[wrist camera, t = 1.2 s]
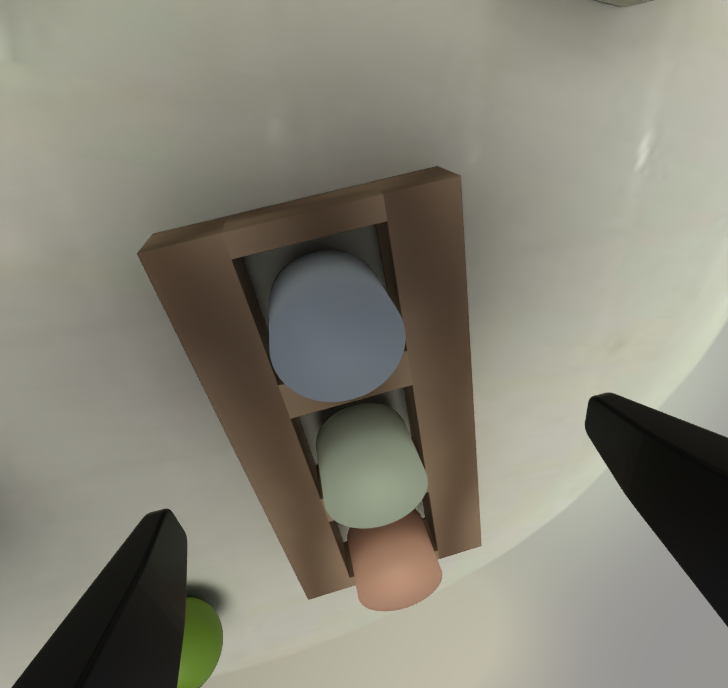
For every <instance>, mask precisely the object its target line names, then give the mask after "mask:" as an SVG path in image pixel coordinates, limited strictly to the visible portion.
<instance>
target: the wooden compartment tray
mask: <svg viewBox="0 0 728 688" xmlns="http://www.w3.org/2000/svg"><path fill="white" fill-rule="evenodd" d="M374 224H376V227H377V233H378V239H379V245H380V251H381V257H382V262H383V268H384V274H385V280H386V286H387V292H388V296H389V297H390V299H391V300H392V302H393V304H394V305H395V307H396V309H397V310H398V312H399V314H400V315H401V318H402V320H403V323H404V327H405V336H406V339H405V348H404V352H403V355H402V358H401V360H400V362H399V364H398V366H397V368H396V369H395V371H394V372H393V373H392V375H391V376H390V377H389V378H388V379H387V380H386V381H385V382H384V383H383V384H382V385H380V386H379V387H377V388H376V389H375V390H373V391H371V392H369V393H368V394H365V395H363V396H361V397H358V398H355V399H352V400H347V401H341V402H322V401H317V400H312V399H309V398H306V397H304V396H301V395H299V394H297V393H296V392H294V391H293V390H291V389H290V388H289V387H288V386H286V385H285V384H284V383H283V381H282V380H281V379H280V378H279V376H278V375H277V373H276V372H275V369H274V367H273V365H272V361H271V358H270V350H269V333H268V330H267V327H266V325H265V322H264V319H263V316H262V313H261V311H260V308H259V305H258V302H257V299H256V297H255V294H254V291H253V288H252V285H251V283H250V280H249V277H248V274H247V271H246V269H245V266H244V263H243V260H242V257H244V256H248V255H252V254H256V253H260V252H264V251H268V250H272V249H276V248H280V247H284V246H288V245H292V244H297V243H301V242H305V241H309V240H313V239H317V238H321V237H325V236H329V235H333V234H337V233H341V232H345V231H349V230H353V229H357V228H362V227H366V226H370V225H374ZM137 255H138V257H139V259H140V261H141V263H142V265H143V267H144V269H145V271H146V273H147V275H148V277H149V279H150V281H151V283H152V285H153V287H154V289H155V291H156V293H157V295H158V297H159V299H160V301H161V303H162V305H163V307H164V309H165V311H166V313H167V315H168V317H169V319H170V321H171V323H172V326H173V328H174V330H175V332H176V334H177V336H178V338H179V340H180V342H181V344H182V346H183V348H184V350H185V352H186V354H187V356H188V358H189V360H190V362H191V364H192V366H193V368H194V370H195V372H196V374H197V376H198V378H199V380H200V382H201V384H202V386H203V388H204V390H205V392H206V394H207V396H208V398H209V400H210V402H211V404H212V406H213V408H214V410H215V412H216V414H217V416H218V418H219V420H220V422H221V424H222V426H223V428H224V431H225V433H226V435H227V437H228V439H229V441H230V443H231V445H232V447H233V449H234V451H235V453H236V455H237V457H238V459H239V461H240V463H241V465H242V467H243V469H244V471H245V473H246V475H247V477H248V479H249V481H250V483H251V485H252V487H253V489H254V491H255V493H256V495H257V497H258V499H259V501H260V503H261V505H262V507H263V509H264V511H265V513H266V515H267V517H268V519H269V521H270V523H271V525H272V527H273V529H274V531H275V534H276V536H277V538H278V540H279V542H280V544H281V546H282V548H283V550H284V552H285V554H286V556H287V558H288V560H289V562H290V564H291V566H292V568H293V570H294V572H295V574H296V576H297V578H298V580H299V582H300V584H301V586H302V588H303V590H304V592H305V594H306V596H307V598H308V600H309V599H313V598H316V597H319V596H322V595H326V594H329V593H332V592H335V591H338V590H342V589H345V588H348V587H351V586H354V585H356V582H355V577H354V571H353V566H352V561H351V555H350V550H349V544H348V542H346V543H343V540H342V537H341V535H340V532H339V529H338V526H337V523H336V521H335V520H333V519H332V518H331V517H330V515H329V514H328V513H327V511H326V509H325V505H324V499H323V492H322V485H321V478H320V471H319V465H315V462H314V459H313V456H312V453H311V451H310V448H309V445H308V442H307V439H306V437H305V434H304V431H303V428H302V425H301V423H300V420H299V416H303V415H306V414H310V413H313V412H317V411H321V410H324V409H328V408H331V407H335V406H339V405H342V404H346V403H349V402H353V401H357V400H360V399H364V398H367V397H371V396H375V395H378V394H382V393H385V392H389V391H393V390H396V389H400V388H403V387H404V393H405V399H406V405H407V411H408V417H409V423H410V428H411V434H412V438H411V439H412V441H413V444H414V446H415V448H416V451H417V453H418V455H419V458H420V460H421V462H422V465H423V467H424V469H425V472H426V474H427V478H428V486H427V490H426V493H425V495H424V497H423V499H422V500H423V506H424V511H425V517H426V518H425V519H422V520H423V523H424V525H425V528H426V531H427V533H428V536H429V539H430V541H431V544H432V547H433V549H434V552H435V555H436V557H437V560H438V559H441V558H444V557H447V556H451V555H454V554H457V553H460V552H463V551H467V550H470V549H473V548H476V547H479V546H481V528H480V511H479V493H478V475H477V457H476V439H475V422H474V404H473V386H472V368H471V351H470V333H469V315H468V297H467V280H466V262H465V244H464V226H463V208H462V191H461V176H460V175H458V174H455V173H453V172H450V171H448V170H445V169H443V168H441V167H438V166H436V167H432V168H428V169H424V170H419V171H415V172H411V173H407V174H403V175H398V176H394V177H390V178H386V179H382V180H377V181H373V182H369V183H365V184H361V185H356V186H352V187H348V188H344V189H340V190H335V191H331V192H327V193H323V194H319V195H314V196H310V197H306V198H302V199H298V200H293V201H289V202H285V203H281V204H277V205H272V206H268V207H264V208H260V209H256V210H251V211H247V212H243V213H239V214H235V215H230V216H226V217H222V218H218V219H214V220H209V221H205V222H201V223H197V224H193V225H188V226H184V227H180V228H176V229H172V230H167V231H163V232H159V233H155V234H152V236H151V237H150V238H149V239H148V241H147V242H146V243H145V244H144V246H143V247H142V248H141V249H140V250H139V252H138V253H137Z"/></svg>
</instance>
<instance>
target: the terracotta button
mask: <svg viewBox="0 0 728 688" xmlns="http://www.w3.org/2000/svg"><path fill="white" fill-rule="evenodd" d="M347 539H348V544H349V550H350V555H351V561H352V566H353V571H354V577H355V582H356V587H357V593H358V598H359V600H360V602H361V603H362V605H364V606H365V607H367V608H369V609H372V610H376V611H394V610H399V609H403V608H407V607H409V606H412V605H414V604H417V603H418V602H420V601H422V600H424V599H425V598H427V597H428V596H430V595H431V594H432V593H433V592H434V591H435V590H436V589H437V587H438V586H439V584H440V582H441V580H442V571H441V568H440V566H439V563H438V560H437V557H436V555H435V552H434V549H433V547H432V544H431V541H430V539H429V536H428V533H427V531H426V528H425V525H424V523H423V520H422V517H421V515H420V514H419V512H418V511H417V510H415V509H414V510H412V511H411V512H410V513H409V514H407V515H406V516H404V517H403V518H401V519H399V520H397V521H395V522H393V523H390V524H387V525H384V526H380V527H375V528H366V529H360V528H352V527H350V529H349V531H348V535H347Z"/></svg>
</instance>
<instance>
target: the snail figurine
mask: <svg viewBox="0 0 728 688" xmlns="http://www.w3.org/2000/svg"><path fill="white" fill-rule="evenodd" d="M222 645H223V630H222V625H221V621H220V619H219V617H218V615H217V613H216V612H215V610H214V609H213V608H212V607H211V606H210V605H209V604H208V603H206V602H205V601H203V600H200V599H197V598H193V597H186V616H185V629H184V638H183V646H182V653H181V661H180V669H179V677H178V684H177V688H200V687H201V686H202V685H203V684H204V683H205V682H206V681H207V679H208V678H209V677H210V676H211V674H212V672H213V671H214V669H215V667H216V665H217V663H218V660H219V658H220V654H221V651H222Z"/></svg>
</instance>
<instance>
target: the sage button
mask: <svg viewBox="0 0 728 688" xmlns="http://www.w3.org/2000/svg"><path fill="white" fill-rule="evenodd" d="M316 451H317V458H318V464H319V471H320V478H321V485H322V492H323V499H324V505H325V509H326V511H327V513H328V514H329V515H330V517H331V518H332V519H333V520H335V521H336V522H338V523H340V524H342V525H344V526H347V527H352V528H360V529H366V528H375V527H380V526H384V525H387V524H390V523H393V522H395V521H397V520H399V519H401V518H403V517H404V516H406V515H407V514H409V513H410V512H411V511H412V510H414V509H415V508H416V507H417V506H418V504H419V503H420V502H421V500H422V499H423V497H424V495H425V493H426V490H427V486H428V478H427V474H426V472H425V469H424V467H423V465H422V462H421V460H420V458H419V455H418V453H417V451H416V448H415V446H414V444H413V441H412V439H411V437H410V434H409V432H408V430H407V427H406V425H405V423H404V420H403V419H402V417H401V416H400V415H399V414H398V413H397V412H396V411H395V410H393V409H392V408H390V407H388V406H385V405H381V404H376V403H363V404H357V405H352V406H349V407H347V408H344V409H342V410H340V411H338V412H337V413H335V414H334V415H332V416H331V417H330V418H329V419H328V420H327V421H326V422H325V423H324V424H323V426H322V427H321V429H320V430H319V433H318V435H317V439H316Z"/></svg>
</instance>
